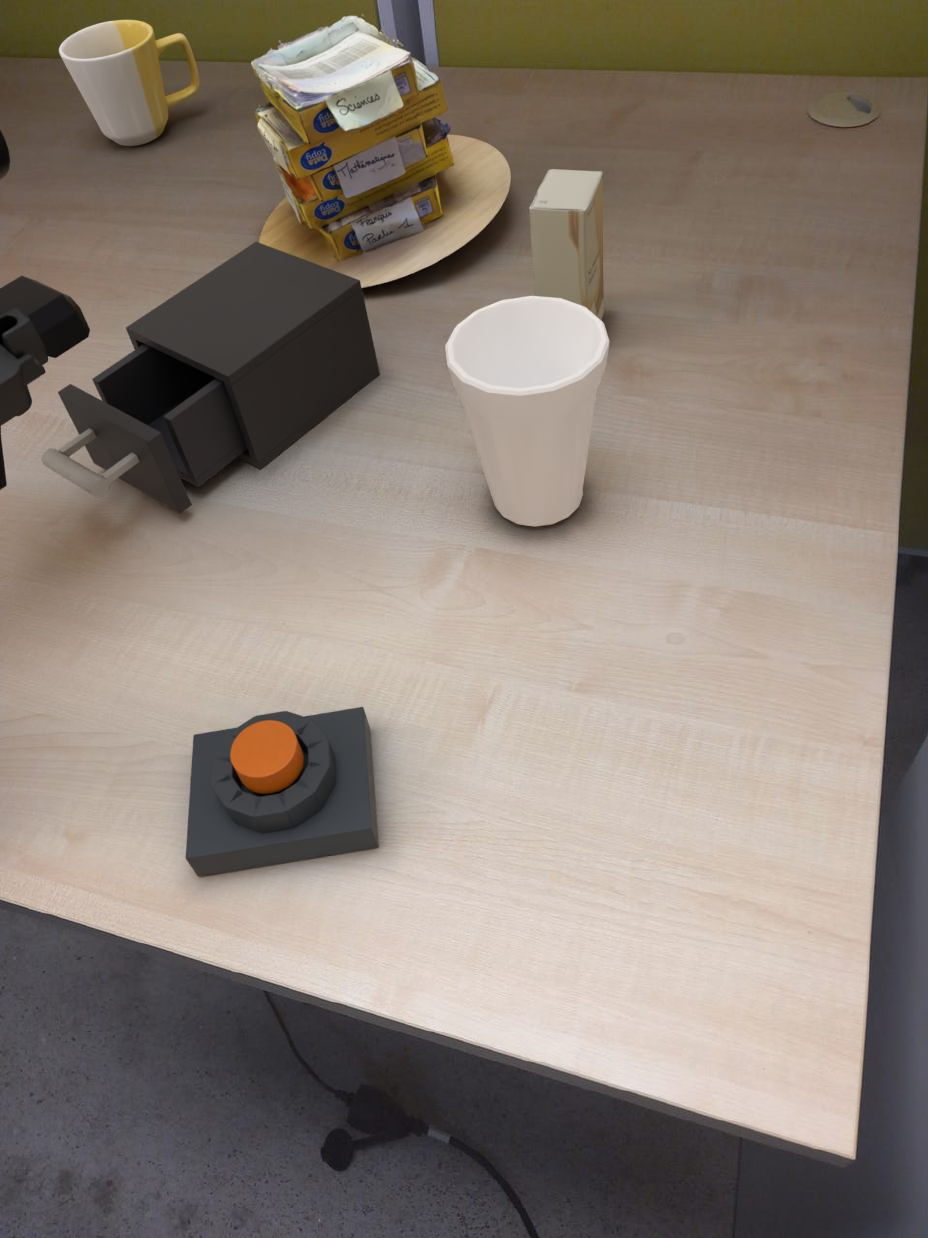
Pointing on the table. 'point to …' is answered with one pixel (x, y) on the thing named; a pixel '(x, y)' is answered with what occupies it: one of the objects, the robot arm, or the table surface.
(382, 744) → the table surface
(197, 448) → the drawer
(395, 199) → the stack of yellow boxes
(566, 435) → the cup
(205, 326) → the black box
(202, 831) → the control block
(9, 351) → the robot arm
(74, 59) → the mug
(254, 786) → the button
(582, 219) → the cosmetic box
